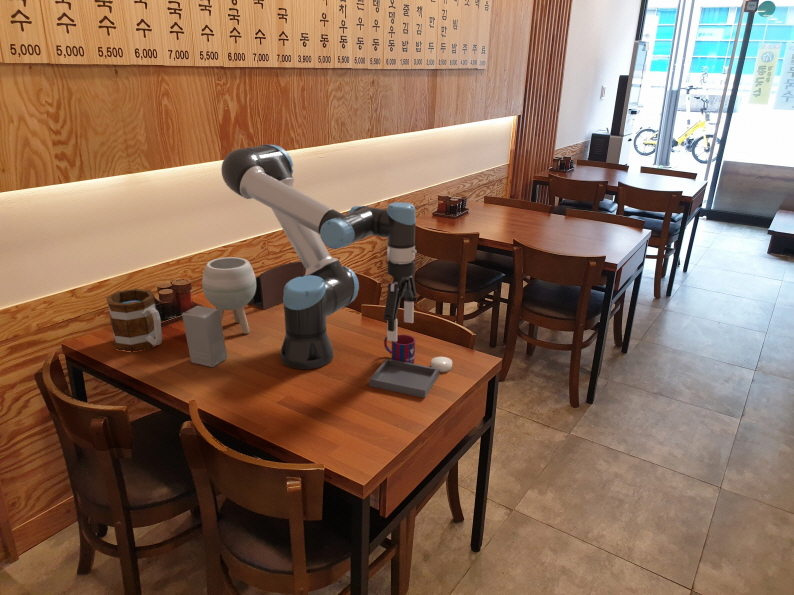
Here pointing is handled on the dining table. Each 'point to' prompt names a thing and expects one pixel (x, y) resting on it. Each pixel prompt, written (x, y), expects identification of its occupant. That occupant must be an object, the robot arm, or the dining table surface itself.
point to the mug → (134, 320)
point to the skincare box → (204, 336)
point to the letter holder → (274, 284)
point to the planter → (230, 286)
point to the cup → (402, 348)
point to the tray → (404, 378)
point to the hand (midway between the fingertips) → (400, 331)
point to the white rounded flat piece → (442, 364)
